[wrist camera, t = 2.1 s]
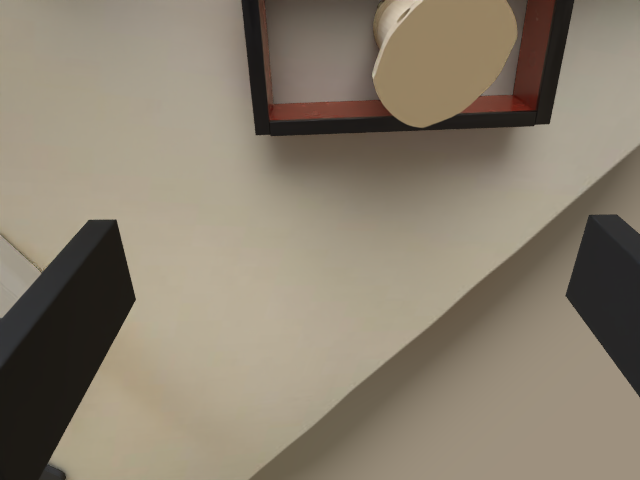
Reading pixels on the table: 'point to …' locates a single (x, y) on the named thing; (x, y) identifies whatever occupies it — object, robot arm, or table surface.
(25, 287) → the white piece
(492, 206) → the table surface
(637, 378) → the robot arm
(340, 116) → the red black rectangular frame
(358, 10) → the table surface
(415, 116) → the handle
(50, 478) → the phone
